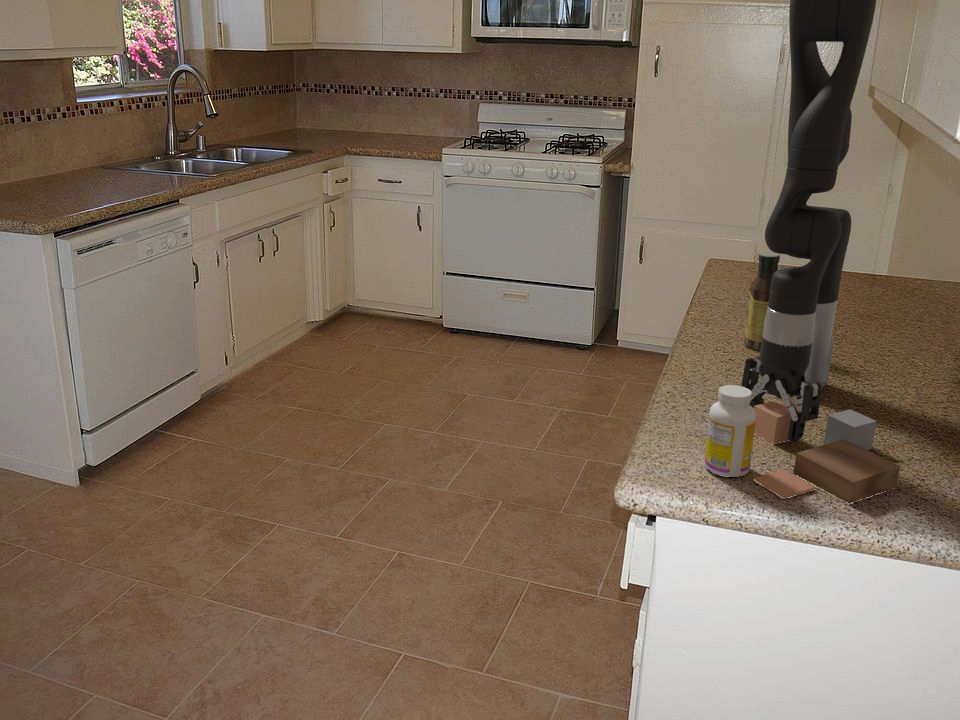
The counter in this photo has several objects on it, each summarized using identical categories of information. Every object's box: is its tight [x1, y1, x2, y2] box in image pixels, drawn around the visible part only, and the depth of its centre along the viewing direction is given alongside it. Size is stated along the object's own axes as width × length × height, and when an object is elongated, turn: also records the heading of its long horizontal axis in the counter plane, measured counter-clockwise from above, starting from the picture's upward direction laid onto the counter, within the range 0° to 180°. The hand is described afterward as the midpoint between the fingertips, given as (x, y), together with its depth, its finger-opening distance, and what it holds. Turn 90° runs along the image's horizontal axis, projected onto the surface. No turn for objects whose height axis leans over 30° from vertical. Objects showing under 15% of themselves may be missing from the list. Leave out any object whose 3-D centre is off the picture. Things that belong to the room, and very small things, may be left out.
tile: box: [753, 469, 816, 498], centre depth 127 cm, size 6×6×1 cm
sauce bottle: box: [743, 251, 781, 351], centre depth 179 cm, size 6×6×20 cm
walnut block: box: [792, 439, 901, 503], centre depth 128 cm, size 10×10×4 cm
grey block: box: [823, 409, 877, 451], centre depth 138 cm, size 5×5×5 cm
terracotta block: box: [754, 399, 799, 444], centre depth 142 cm, size 5×5×5 cm
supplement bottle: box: [703, 384, 756, 478], centre depth 129 cm, size 7×7×13 cm
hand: (773, 429), depth 142 cm, fingers open, 8 cm apart
